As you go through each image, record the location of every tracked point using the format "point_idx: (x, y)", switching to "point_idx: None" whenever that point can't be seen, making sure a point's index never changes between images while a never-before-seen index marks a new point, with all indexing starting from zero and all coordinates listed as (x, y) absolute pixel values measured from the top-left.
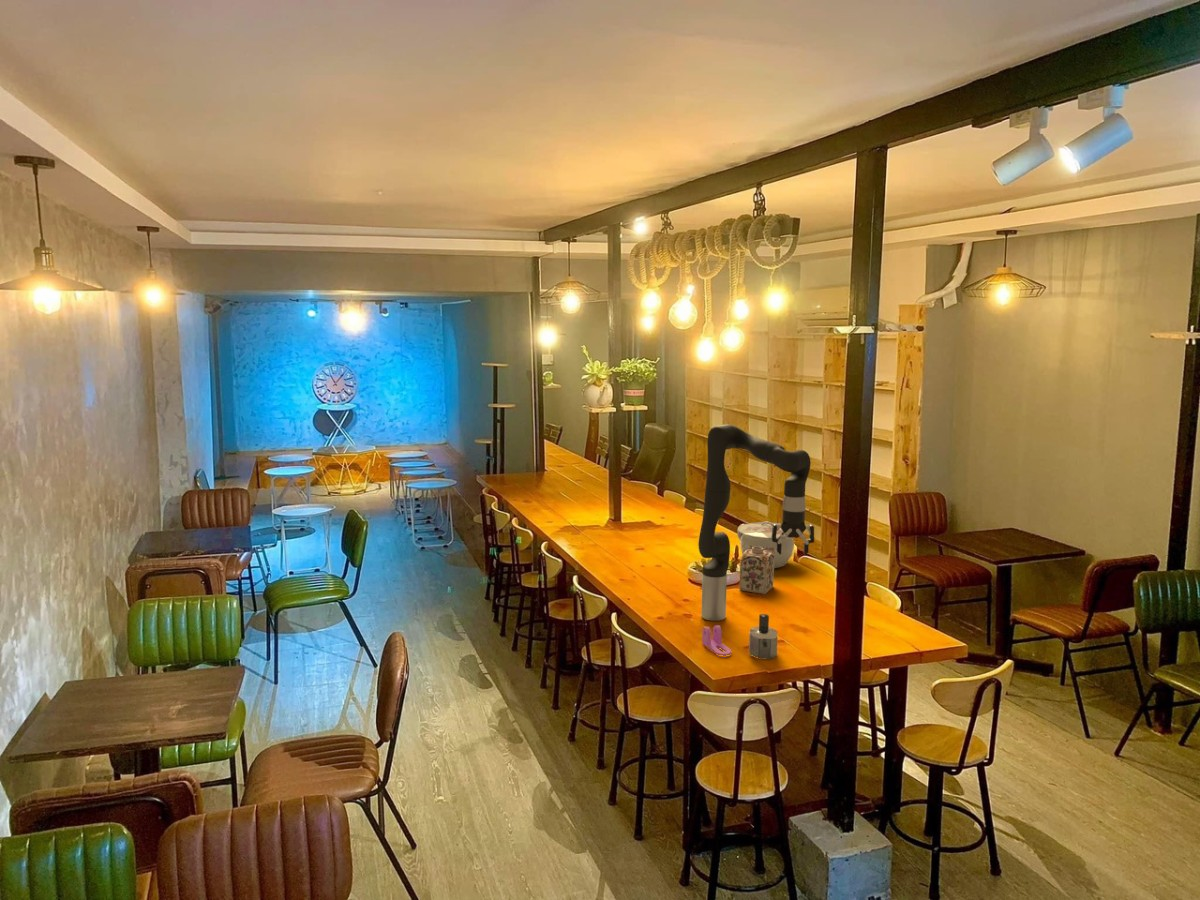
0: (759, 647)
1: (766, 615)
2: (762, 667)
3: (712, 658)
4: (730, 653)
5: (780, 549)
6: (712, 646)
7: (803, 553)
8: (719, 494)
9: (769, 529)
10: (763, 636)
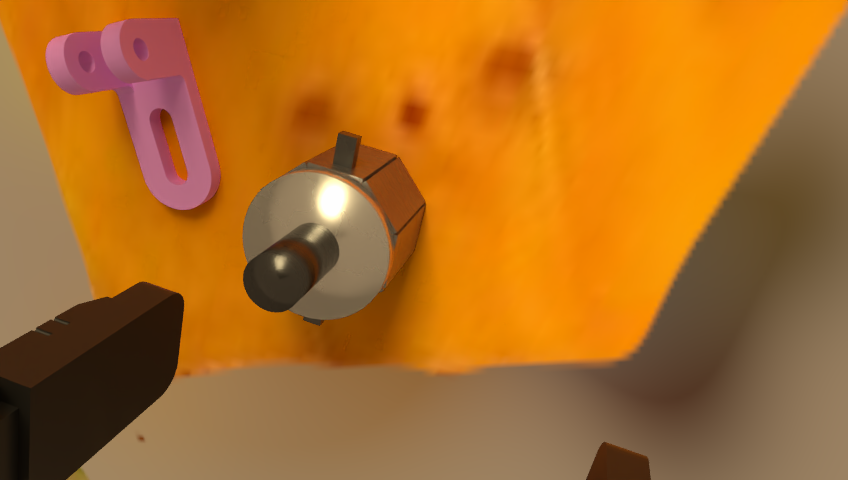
0: None
1: (287, 283)
2: (316, 336)
3: (136, 204)
4: (206, 200)
5: (96, 435)
6: (136, 115)
7: (598, 453)
8: None
9: None
10: (293, 312)
